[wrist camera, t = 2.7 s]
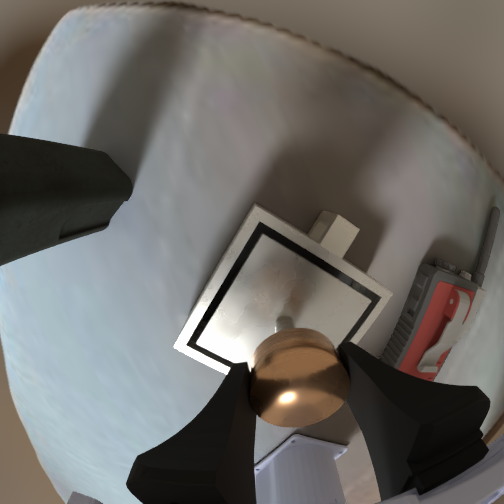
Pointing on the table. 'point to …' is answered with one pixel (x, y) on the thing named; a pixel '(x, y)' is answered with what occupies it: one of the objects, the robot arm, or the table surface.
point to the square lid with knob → (286, 333)
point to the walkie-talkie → (437, 313)
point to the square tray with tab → (317, 242)
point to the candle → (54, 194)
